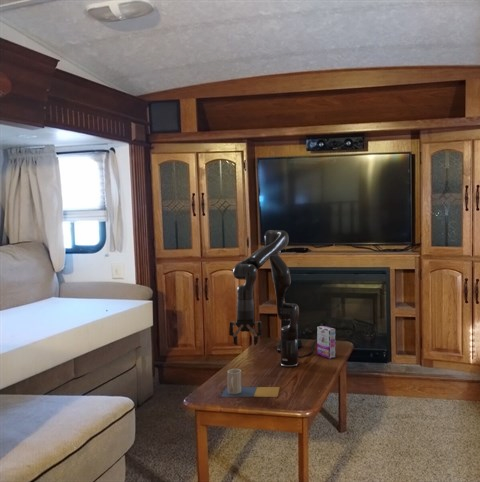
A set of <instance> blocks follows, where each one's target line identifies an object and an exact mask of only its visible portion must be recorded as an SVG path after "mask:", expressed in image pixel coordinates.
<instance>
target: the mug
mask: <svg viewBox="0 0 480 482" xmlns="http://www.w3.org/2000/svg"><path fill="white" fill-rule="evenodd" d="M226 373H227V375H226V377H227V380H226V381H227V382H226V383H227V386H226V387H227V388H228V393H229V394H238V393H240V392H241V387H242V370H241V369H240V368H231V369H228V370H227V372H226Z"/></svg>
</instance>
